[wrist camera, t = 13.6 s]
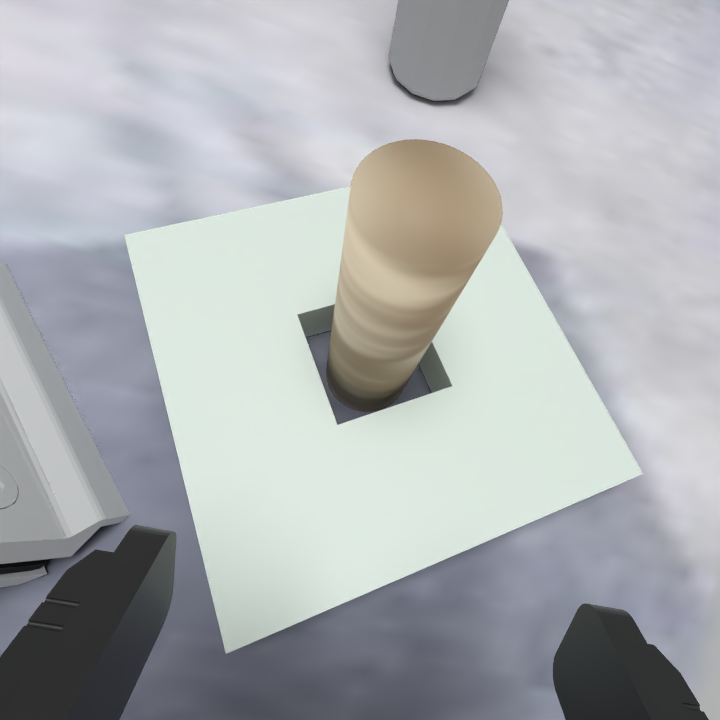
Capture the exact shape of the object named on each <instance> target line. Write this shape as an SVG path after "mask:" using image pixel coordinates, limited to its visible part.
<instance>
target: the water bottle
mask: <svg viewBox="0 0 720 720" xmlns="http://www.w3.org/2000/svg"><path fill="white" fill-rule="evenodd" d="M508 1H509V0H398V6H397V12H396V17H395V23H394V29H393V35H392V40H391V46H390V52H389V60H390V64H391V67H392V70H393V73H394V75H395V77H396V79H397V81H398V82H399V83H401V84H402V85H403V86H404V87H405V88H406V89H408V90H409V91H410V92H411V93H412V94H415V95H418V96H421V97H424V98H427V99H430V100H433V101H441V100H455V99H457V98H459V97H461V96H462V95H464V94H466V93H467V92H469V91H471V90H472V89H474V88H476V87H477V85H478V82H479V79H480V77H481V74H482V71H483V69H484V66H485V63H486V60H487V58H488V55H489V52H490V50H491V47H492V44H493V42H494V39H495V36H496V34H497V31H498V28H499V26H500V23H501V20H502V17H503V15H504V12H505V9H506V7H507V4H508Z"/></svg>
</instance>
